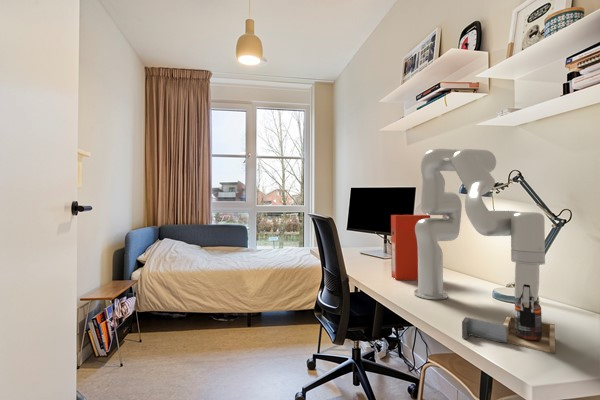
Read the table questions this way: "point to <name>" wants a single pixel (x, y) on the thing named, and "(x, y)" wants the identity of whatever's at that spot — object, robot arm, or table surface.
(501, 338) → the grey l-shaped block
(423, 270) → the robot arm
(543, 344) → the caddy
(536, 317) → the supplement bottle
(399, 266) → the file binder
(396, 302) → the table surface
